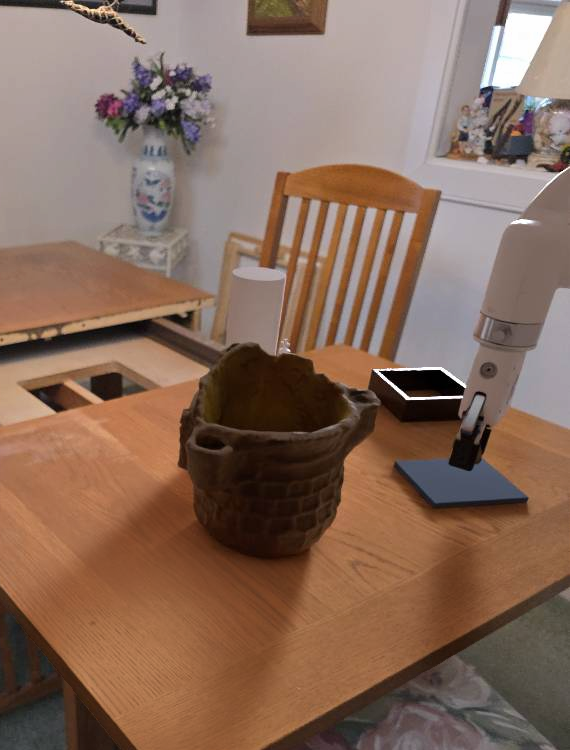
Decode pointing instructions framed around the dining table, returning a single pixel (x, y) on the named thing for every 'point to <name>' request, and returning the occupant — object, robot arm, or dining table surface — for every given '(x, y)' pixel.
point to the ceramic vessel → (270, 449)
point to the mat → (459, 483)
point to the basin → (417, 409)
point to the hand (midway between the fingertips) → (466, 458)
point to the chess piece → (284, 347)
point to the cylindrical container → (255, 307)
